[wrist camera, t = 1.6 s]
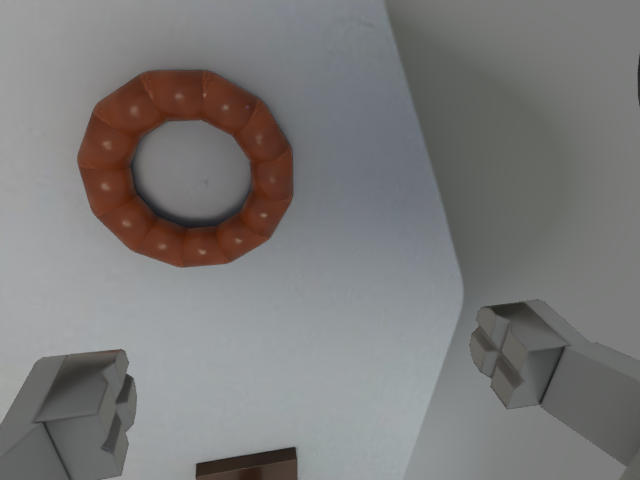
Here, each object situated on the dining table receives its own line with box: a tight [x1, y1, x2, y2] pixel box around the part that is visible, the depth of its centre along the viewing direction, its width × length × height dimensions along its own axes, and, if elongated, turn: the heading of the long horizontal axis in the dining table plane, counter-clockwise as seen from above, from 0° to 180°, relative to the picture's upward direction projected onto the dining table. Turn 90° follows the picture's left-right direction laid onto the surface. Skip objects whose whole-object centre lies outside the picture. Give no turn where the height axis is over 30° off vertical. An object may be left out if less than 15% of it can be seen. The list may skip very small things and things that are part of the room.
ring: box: [77, 70, 293, 268], centre depth 22 cm, size 11×11×2 cm
